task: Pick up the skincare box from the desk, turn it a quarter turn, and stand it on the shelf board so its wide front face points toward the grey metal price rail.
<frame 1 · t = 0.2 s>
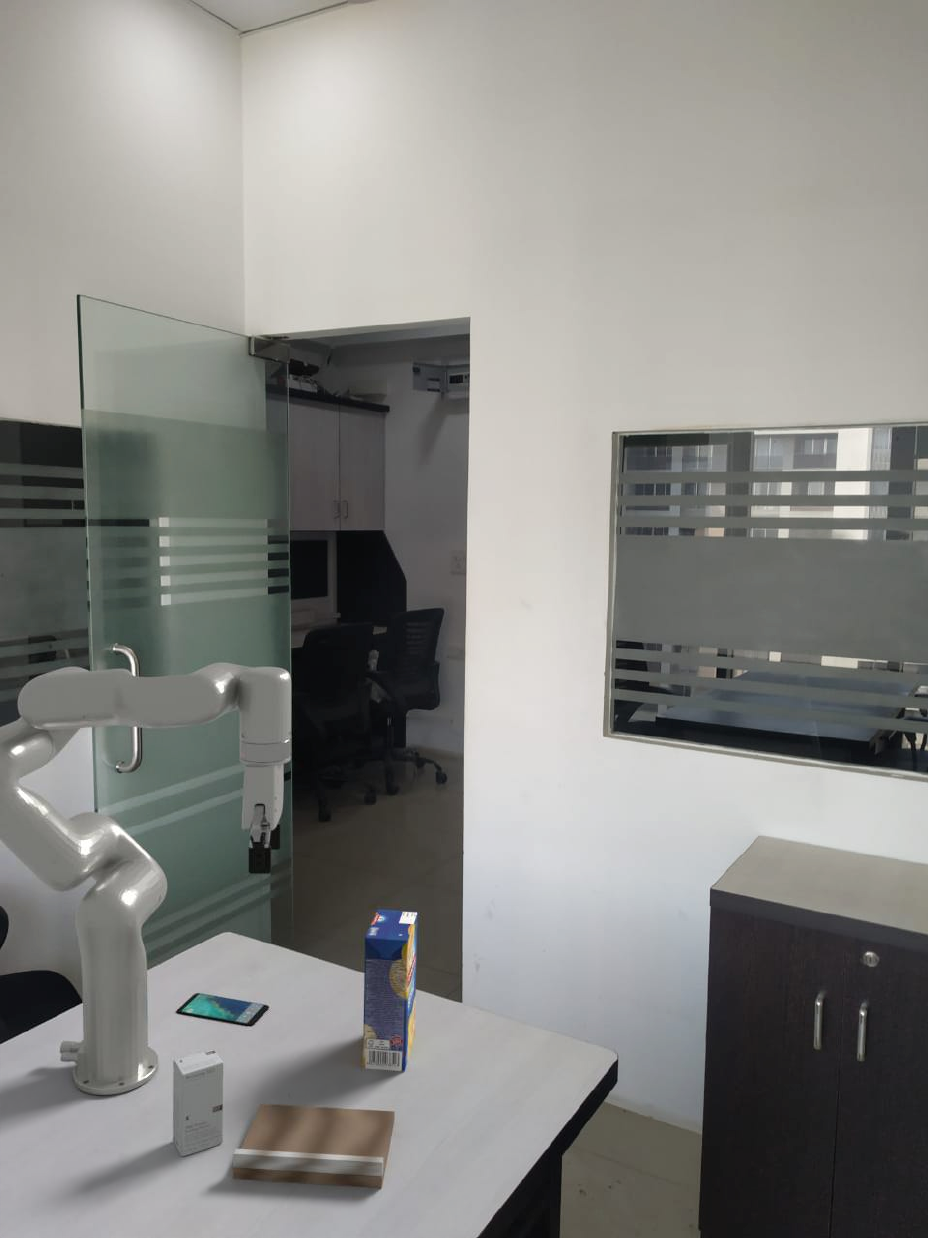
hand: (265, 860, 145), 36 cm above the table, tool pointing down, fingers open, 9 cm apart
smartphone: (223, 1013, 171), on the table
beverage box: (389, 1052, 159), on the table
shelf board: (317, 1148, 135), on the table
skincare box: (198, 1143, 135), on the table
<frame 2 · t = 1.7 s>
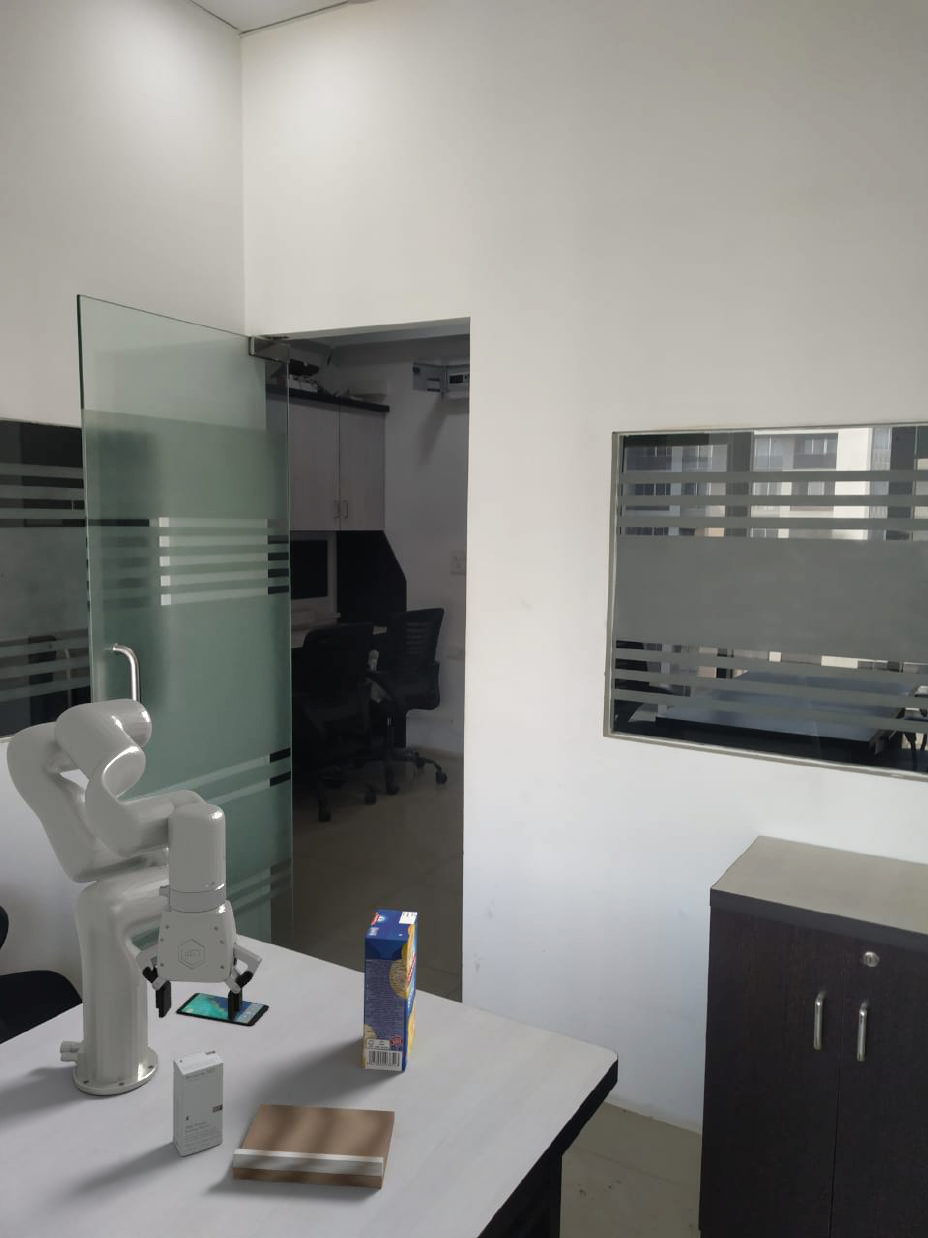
hand: (199, 1014, 133), 19 cm above the table, tool pointing down, fingers open, 9 cm apart
nothing on the table moved.
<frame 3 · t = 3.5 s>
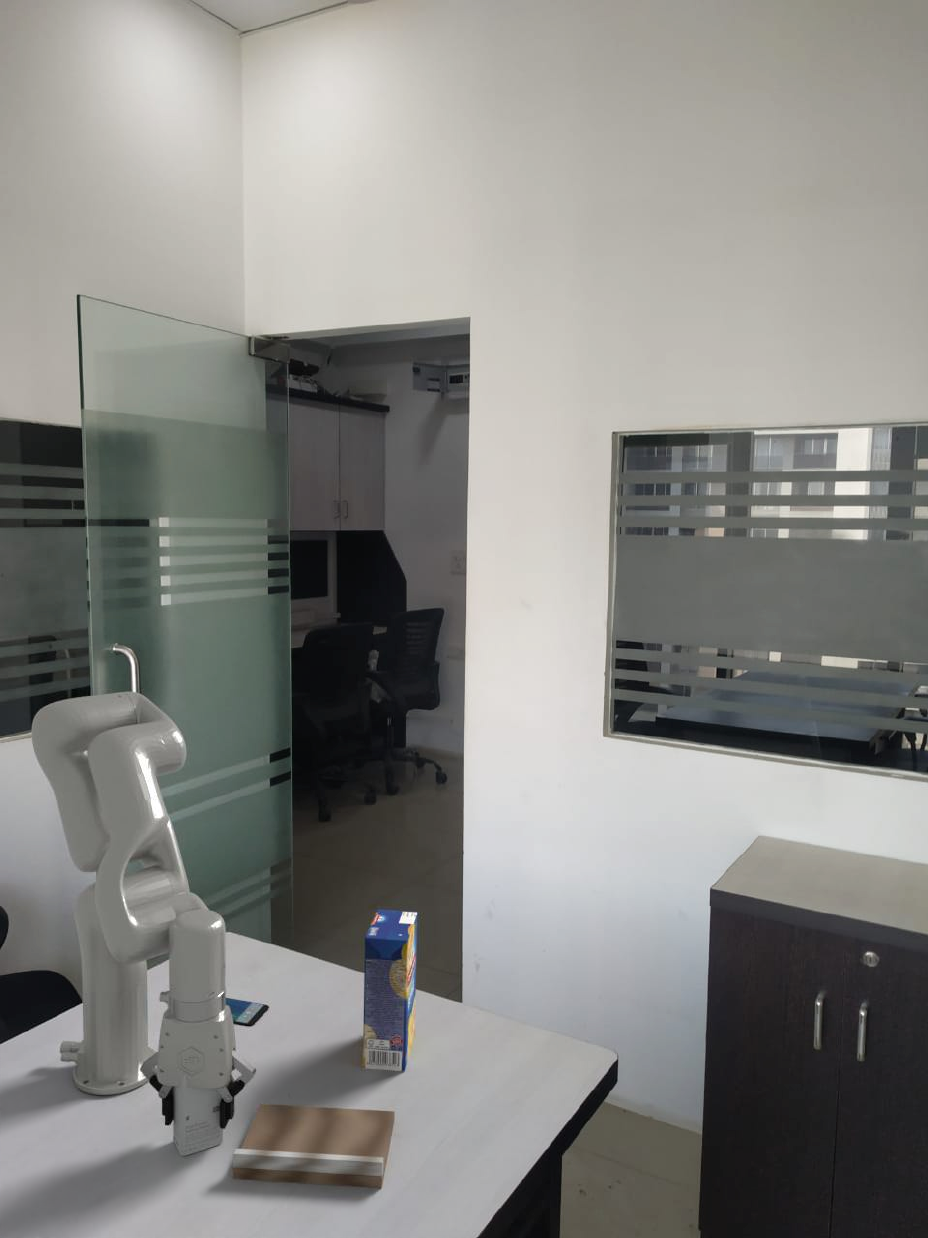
hand: (198, 1120, 135), 3 cm above the table, tool pointing down, fingers closed on skincare box, 7 cm apart
skincare box: (198, 1143, 135), on the table, touching gripper
everything else where it was.
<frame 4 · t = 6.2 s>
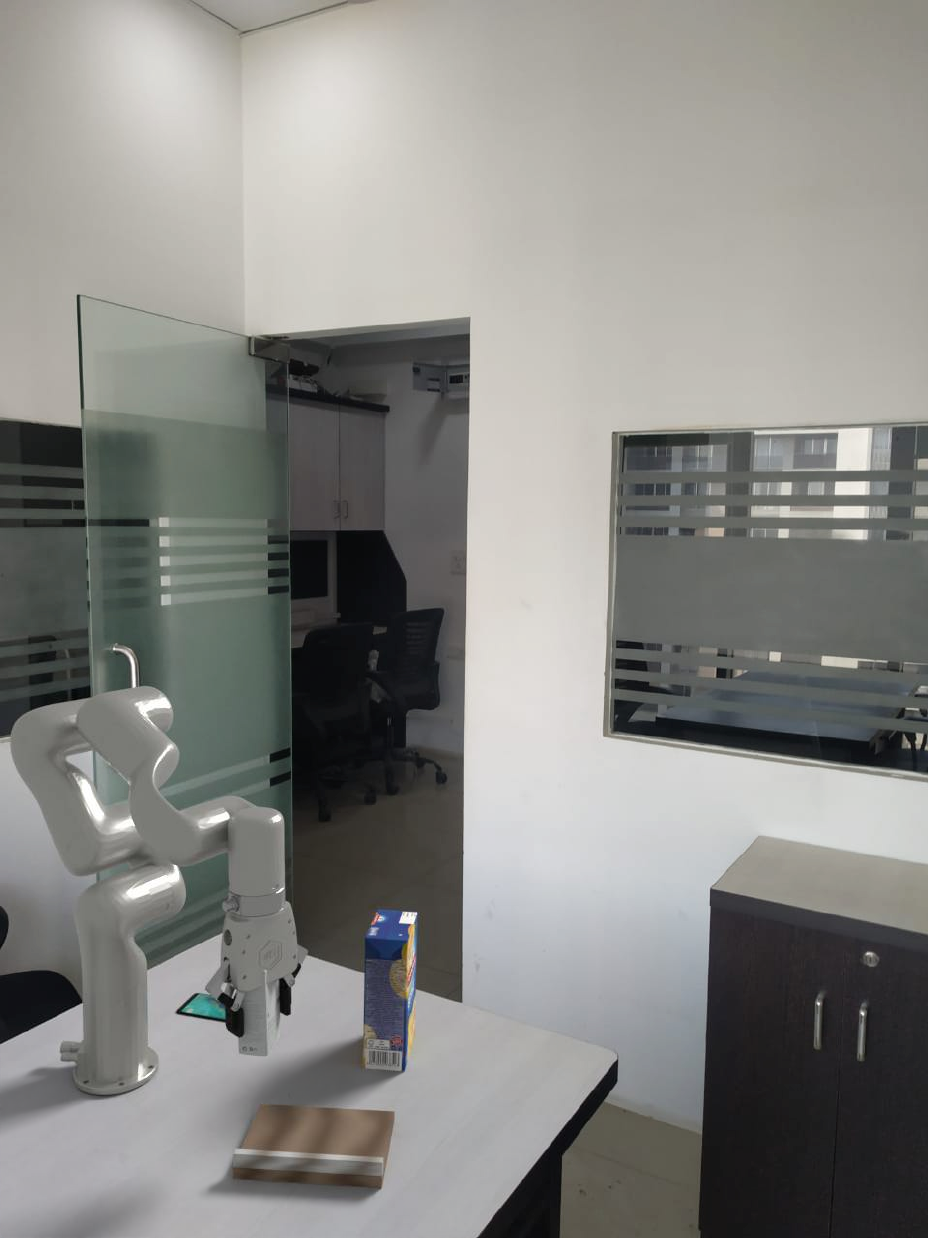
hand: (259, 1021, 133), 18 cm above the table, tool pointing down, fingers closed on skincare box, 7 cm apart
skincare box: (259, 1045, 133), point 15 cm above the table, touching gripper
everything else where it was.
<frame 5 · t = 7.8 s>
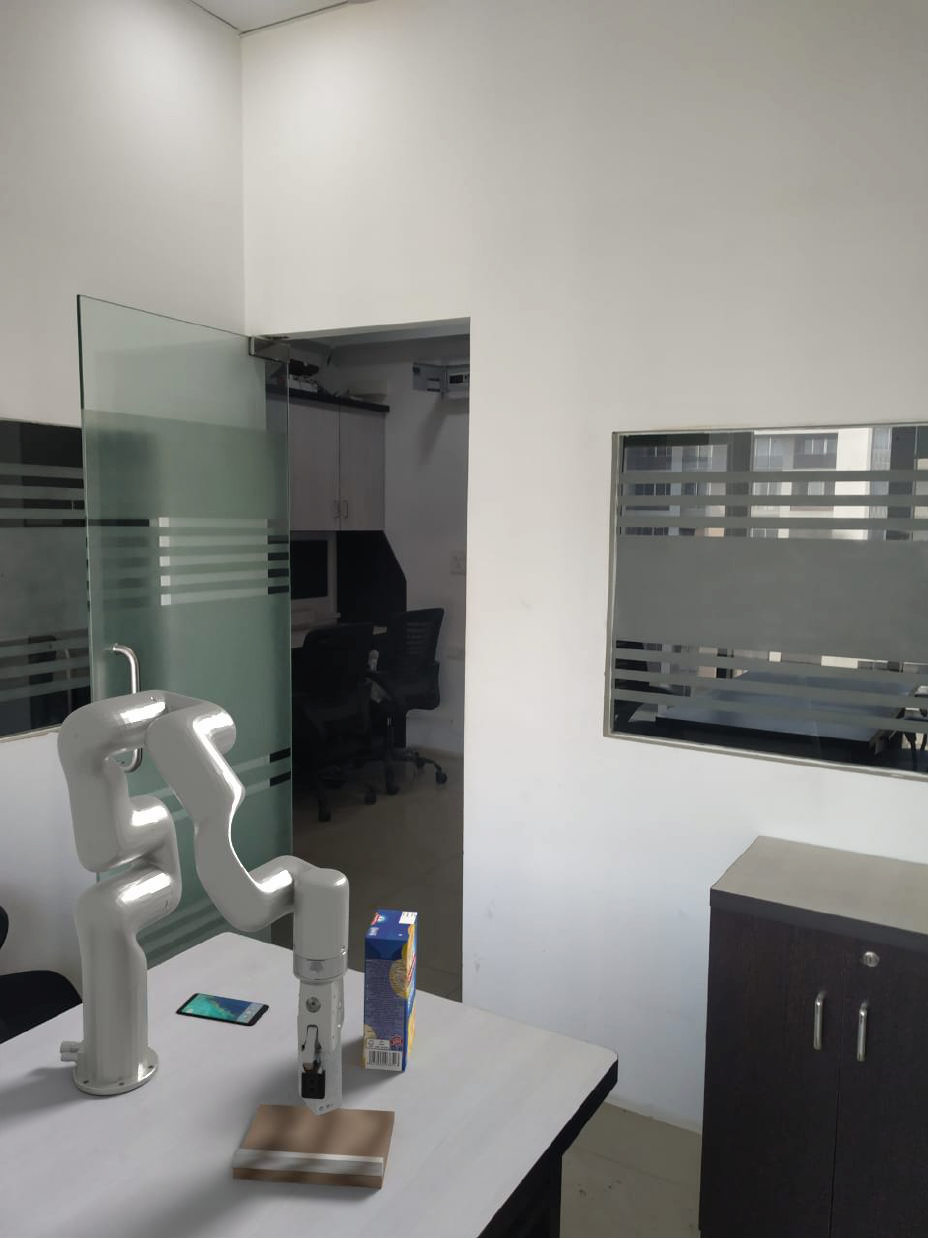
hand: (318, 1079, 135), 10 cm above the table, tool pointing down, fingers closed on skincare box, 7 cm apart
skincare box: (318, 1102, 135), point 6 cm above the table, touching gripper
everything else where it was.
when the fingers open (6 cm above the table, at t = 9.2 s): skincare box stays where it is, resting on shelf board.
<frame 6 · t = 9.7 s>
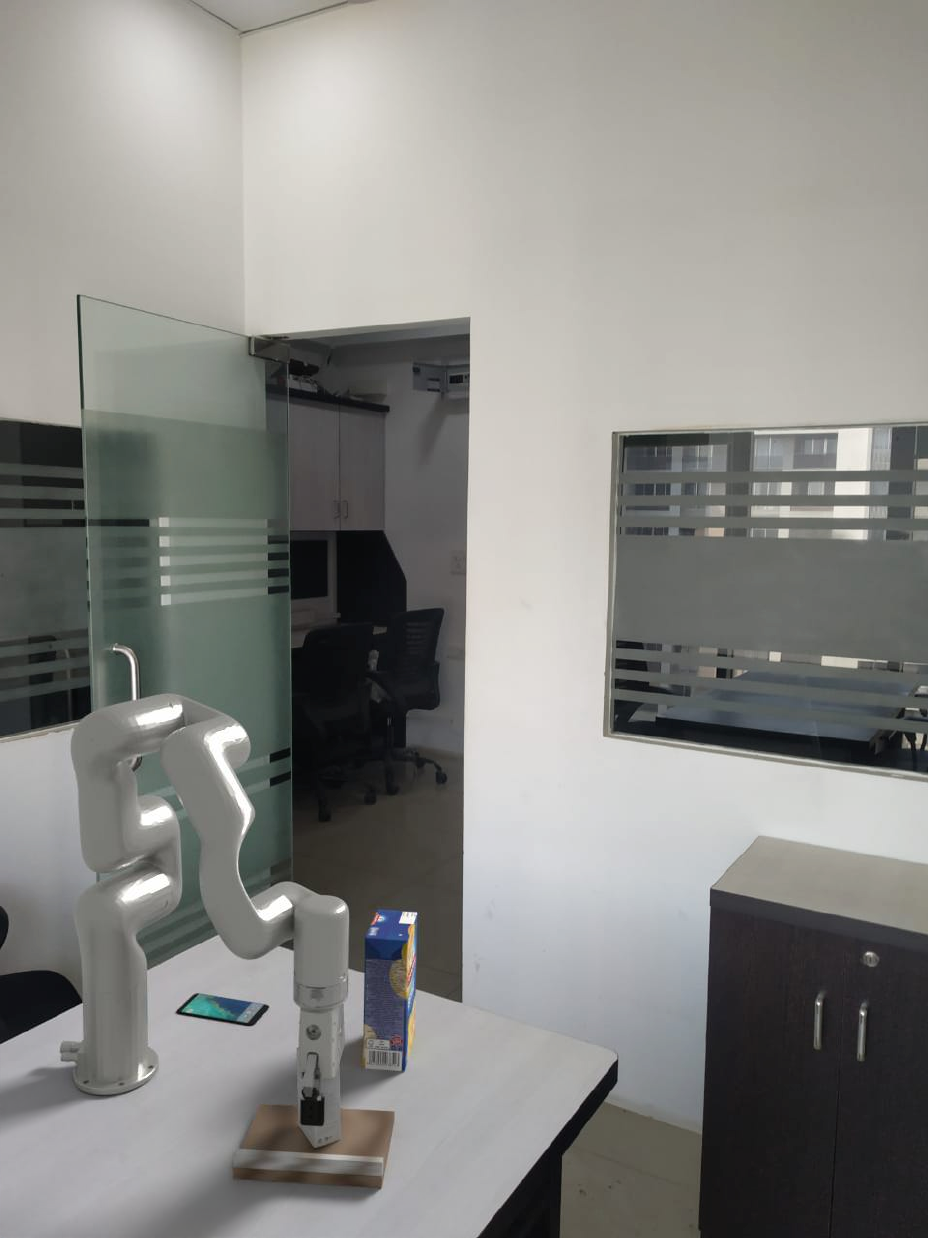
hand: (319, 1102, 135), 6 cm above the table, tool pointing down, fingers open, 9 cm apart
skincare box: (317, 1134, 136), point 1 cm above the table, touching shelf board
everything else where it was.
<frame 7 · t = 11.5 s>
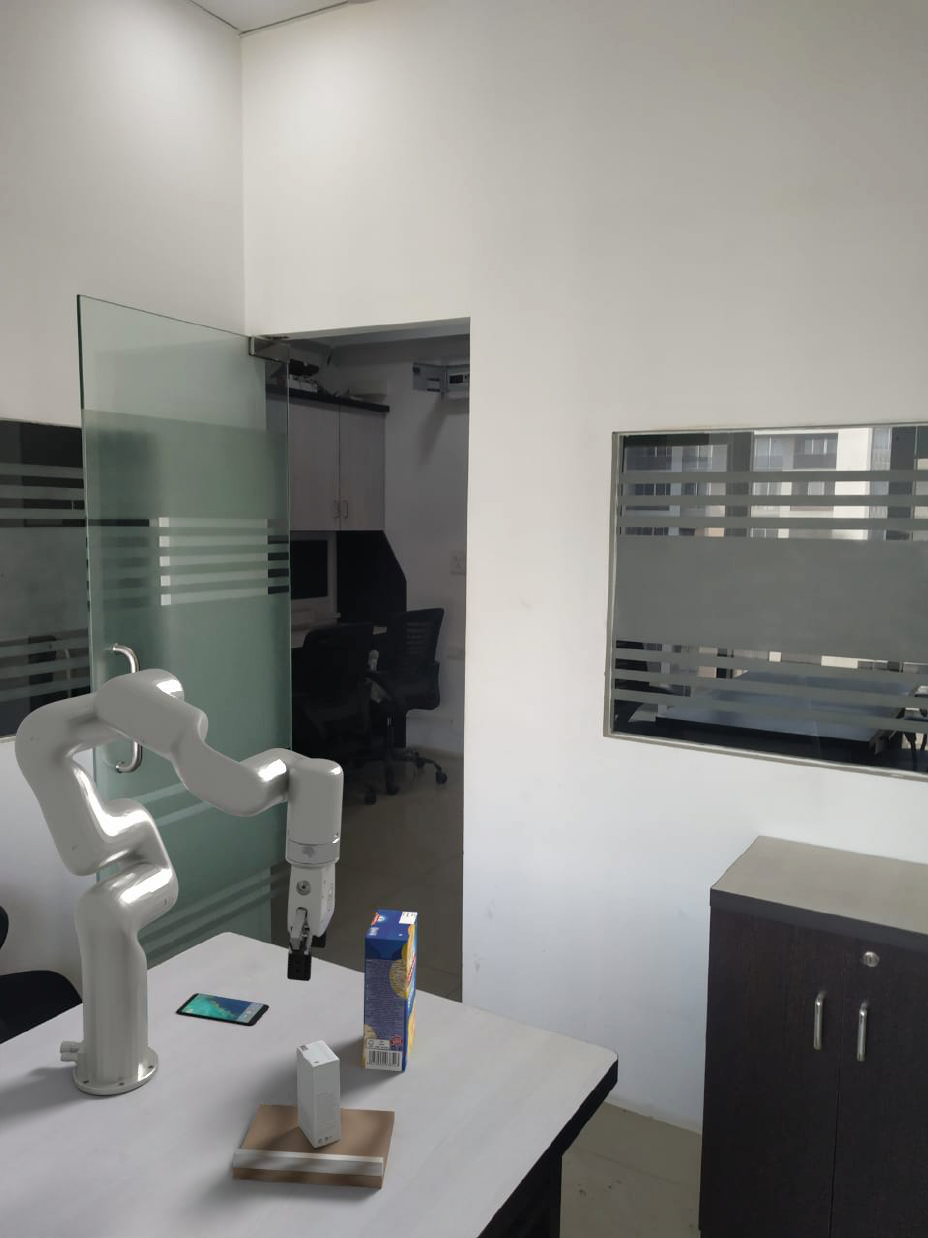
hand: (307, 962, 137), 25 cm above the table, tool pointing down, fingers open, 9 cm apart
nothing on the table moved.
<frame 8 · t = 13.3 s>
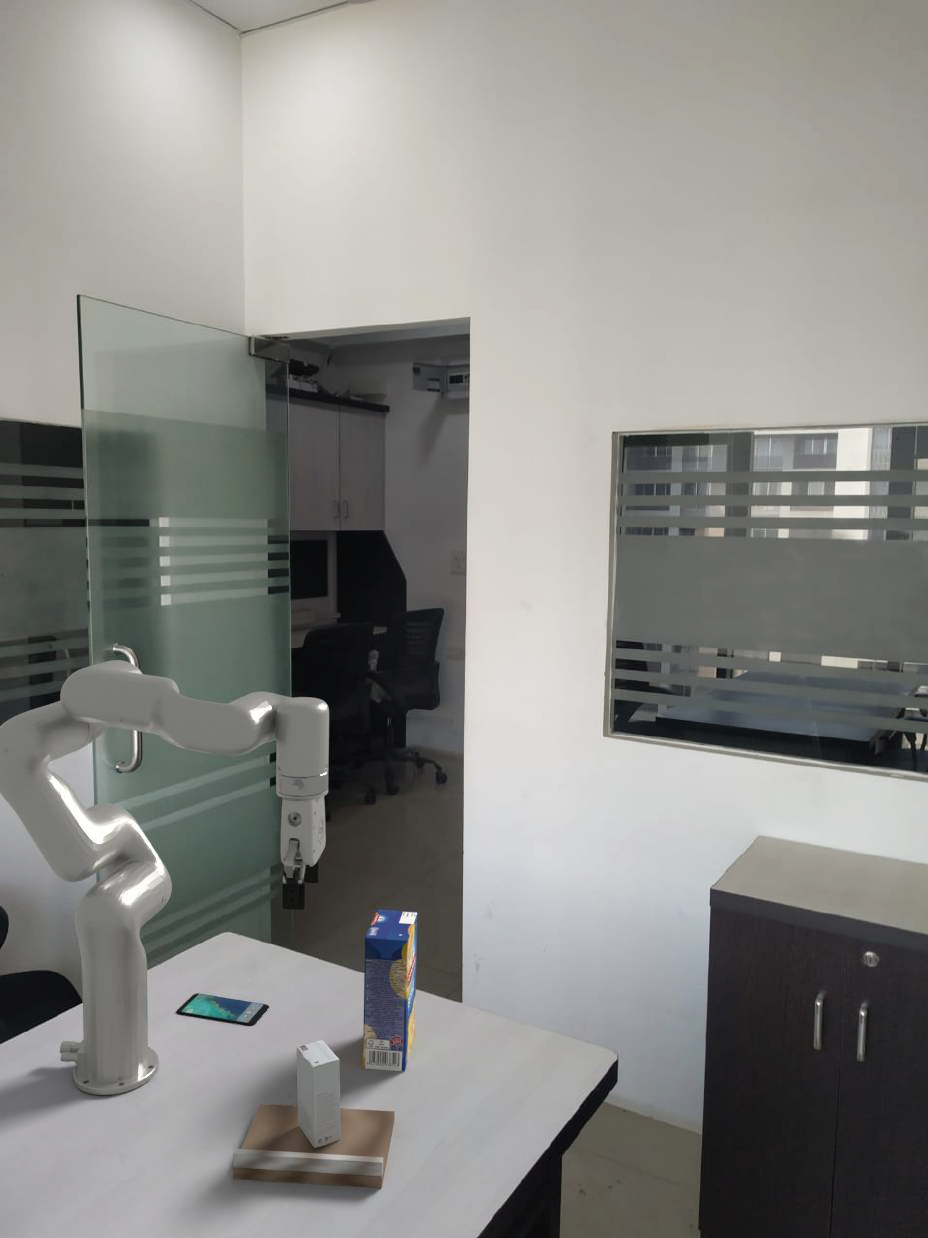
hand: (301, 895, 142), 32 cm above the table, tool pointing down, fingers open, 9 cm apart
nothing on the table moved.
at the end: skincare box inside the target area on the shelf board (1.2 cm from its centre), point 1.3 cm above the shelf board's base; skincare box tilted 0°; the gripper is holding nothing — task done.
